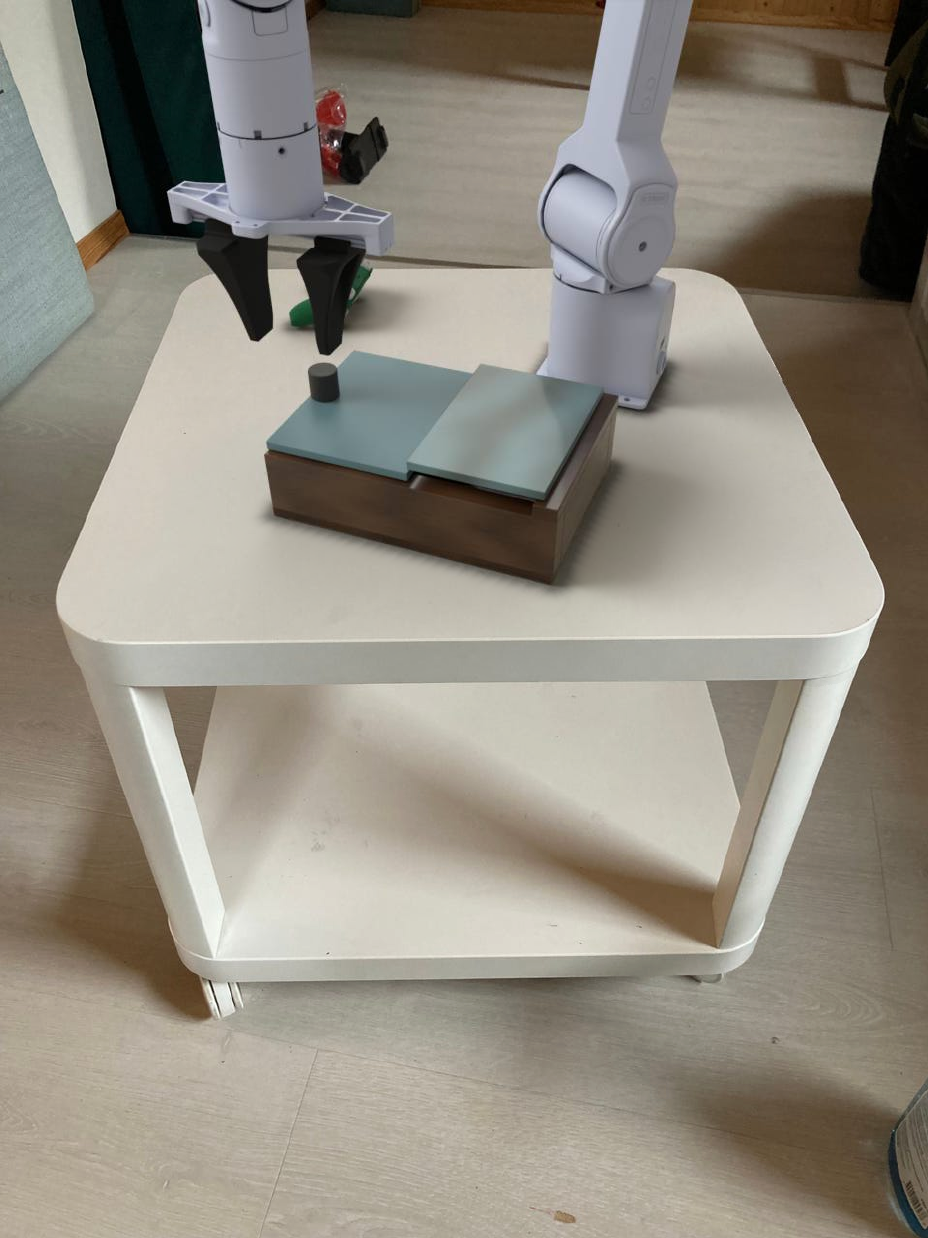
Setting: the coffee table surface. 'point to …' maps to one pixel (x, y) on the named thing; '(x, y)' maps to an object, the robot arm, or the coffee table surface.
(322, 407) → the sliding lid with knob
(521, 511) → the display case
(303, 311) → the green and white boots
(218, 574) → the coffee table surface
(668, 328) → the robot arm
